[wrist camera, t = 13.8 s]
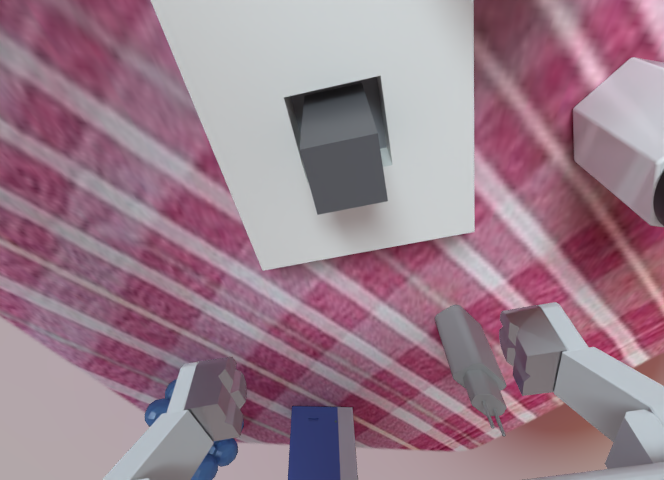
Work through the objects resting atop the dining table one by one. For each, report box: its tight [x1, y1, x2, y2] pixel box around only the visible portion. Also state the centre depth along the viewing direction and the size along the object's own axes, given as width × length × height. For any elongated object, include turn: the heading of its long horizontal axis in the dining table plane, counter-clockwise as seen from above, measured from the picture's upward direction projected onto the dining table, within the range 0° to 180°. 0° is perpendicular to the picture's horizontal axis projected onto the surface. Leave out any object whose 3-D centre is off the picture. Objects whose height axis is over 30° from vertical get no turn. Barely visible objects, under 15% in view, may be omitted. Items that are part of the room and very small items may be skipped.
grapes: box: [145, 379, 244, 480], centre depth 43 cm, size 12×7×12 cm, turn 42°
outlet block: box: [151, 0, 474, 271], centre depth 28 cm, size 20×17×4 cm
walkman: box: [288, 406, 358, 480], centre depth 48 cm, size 8×3×12 cm, turn 85°
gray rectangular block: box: [300, 83, 388, 215], centre depth 25 cm, size 4×4×9 cm
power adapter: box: [435, 305, 506, 436], centre depth 38 cm, size 3×5×12 cm, turn 43°
